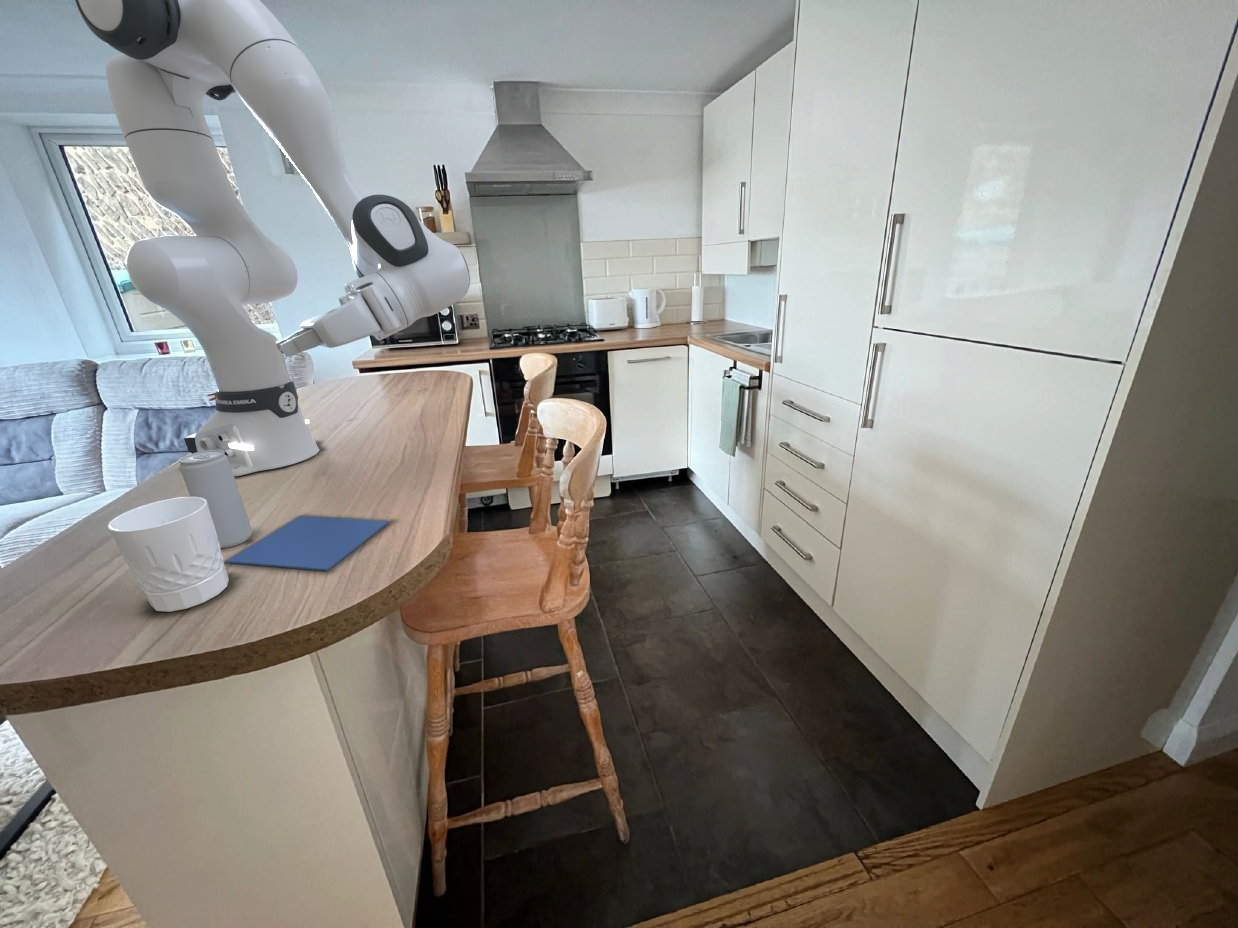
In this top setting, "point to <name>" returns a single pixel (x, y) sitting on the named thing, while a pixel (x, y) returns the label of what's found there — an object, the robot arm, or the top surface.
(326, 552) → the blue cloth
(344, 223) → the robot arm
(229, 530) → the beverage can
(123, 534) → the white cup
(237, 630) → the top surface
